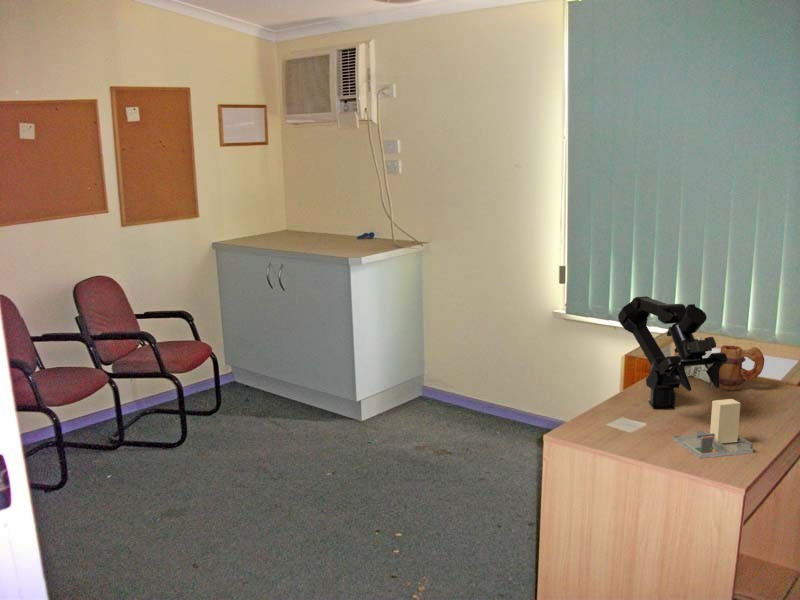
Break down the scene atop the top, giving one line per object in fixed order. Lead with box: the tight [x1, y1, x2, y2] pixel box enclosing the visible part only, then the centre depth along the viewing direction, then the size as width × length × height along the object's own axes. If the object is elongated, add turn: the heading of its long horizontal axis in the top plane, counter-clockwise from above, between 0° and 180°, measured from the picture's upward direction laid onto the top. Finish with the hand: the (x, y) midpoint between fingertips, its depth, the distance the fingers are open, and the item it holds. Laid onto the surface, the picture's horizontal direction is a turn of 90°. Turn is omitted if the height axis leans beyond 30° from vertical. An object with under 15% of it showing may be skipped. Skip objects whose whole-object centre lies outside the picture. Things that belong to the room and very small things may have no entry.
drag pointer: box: [701, 436, 713, 449], centre depth 196 cm, size 1×3×3 cm, turn 102°
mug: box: [719, 344, 765, 391], centre depth 245 cm, size 15×8×15 cm, turn 55°
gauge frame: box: [672, 429, 754, 459], centre depth 202 cm, size 13×16×2 cm
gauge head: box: [697, 398, 741, 443], centre depth 201 cm, size 4×11×11 cm, turn 101°
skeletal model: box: [685, 336, 714, 391], centre depth 259 cm, size 16×9×25 cm
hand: (704, 389), depth 210 cm, fingers open, 8 cm apart
